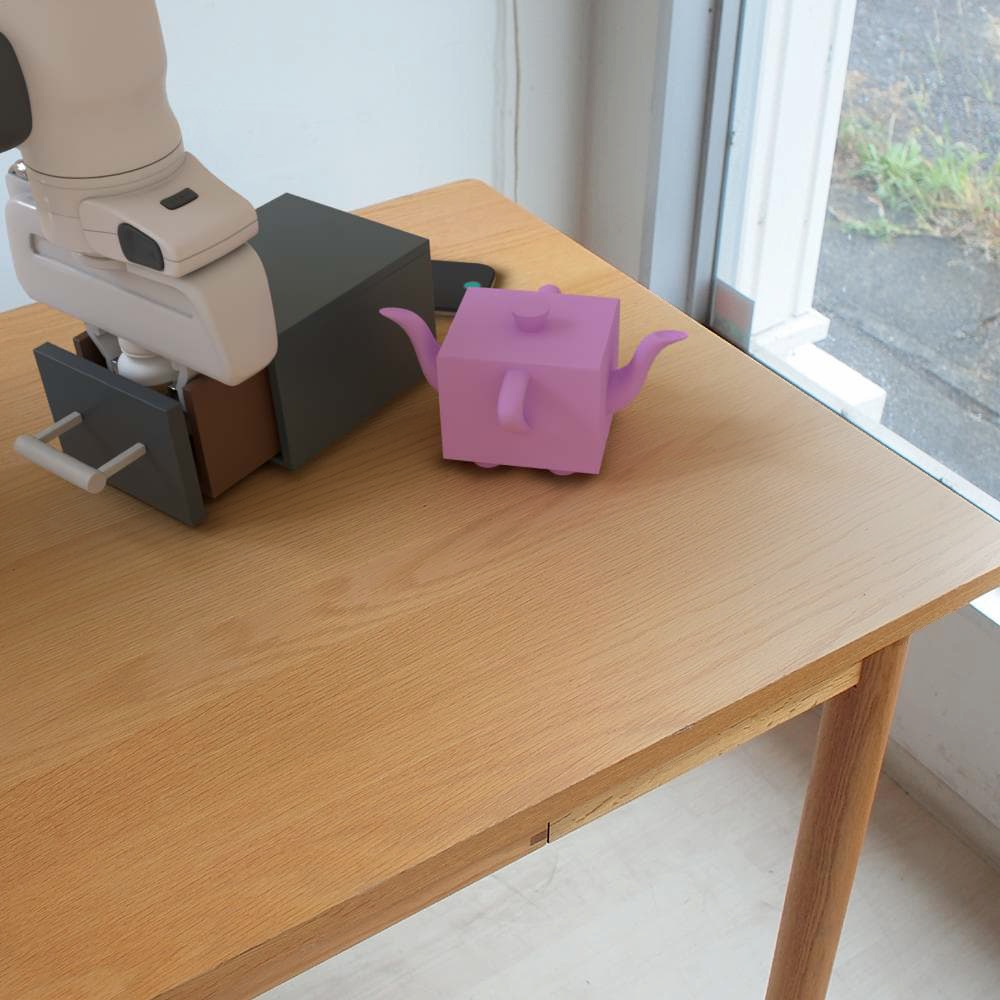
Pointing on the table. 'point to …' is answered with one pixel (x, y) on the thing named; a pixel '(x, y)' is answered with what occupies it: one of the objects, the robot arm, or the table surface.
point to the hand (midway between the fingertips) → (159, 392)
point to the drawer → (149, 431)
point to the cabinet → (337, 318)
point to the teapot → (530, 376)
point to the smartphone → (457, 283)
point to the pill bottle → (147, 369)
